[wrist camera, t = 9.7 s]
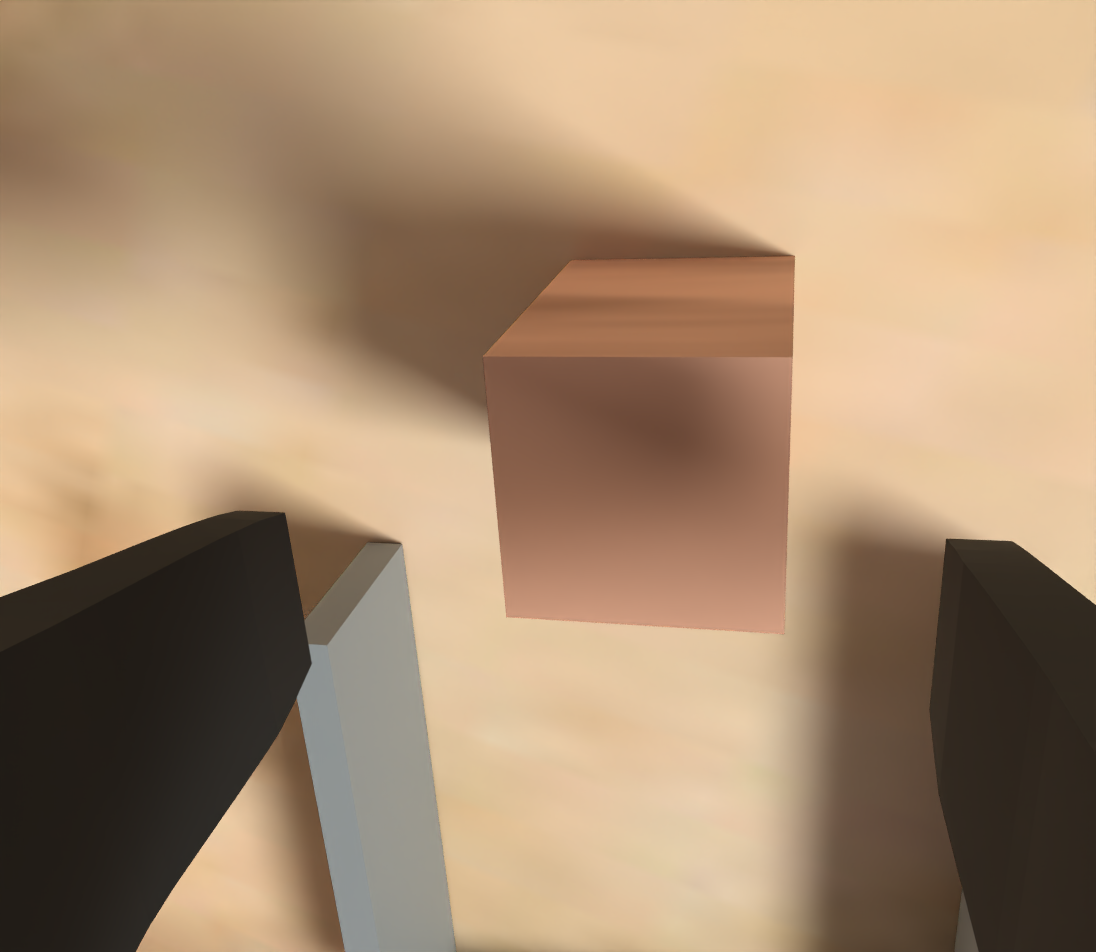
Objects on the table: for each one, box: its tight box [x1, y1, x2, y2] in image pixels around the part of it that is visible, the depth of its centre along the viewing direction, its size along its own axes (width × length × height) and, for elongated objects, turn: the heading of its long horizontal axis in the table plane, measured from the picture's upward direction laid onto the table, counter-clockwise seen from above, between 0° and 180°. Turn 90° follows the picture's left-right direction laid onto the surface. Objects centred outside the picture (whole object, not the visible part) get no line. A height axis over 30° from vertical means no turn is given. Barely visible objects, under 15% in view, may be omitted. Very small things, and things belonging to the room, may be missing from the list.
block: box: [483, 256, 795, 634], centre depth 17 cm, size 4×4×6 cm
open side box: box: [297, 542, 979, 952], centre depth 22 cm, size 14×14×4 cm
